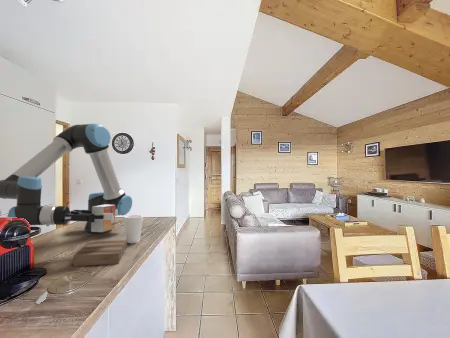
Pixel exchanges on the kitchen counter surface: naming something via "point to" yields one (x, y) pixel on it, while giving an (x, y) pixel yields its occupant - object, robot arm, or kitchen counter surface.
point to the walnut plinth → (100, 252)
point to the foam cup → (133, 227)
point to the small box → (103, 224)
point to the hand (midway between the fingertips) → (115, 214)
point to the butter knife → (42, 298)
